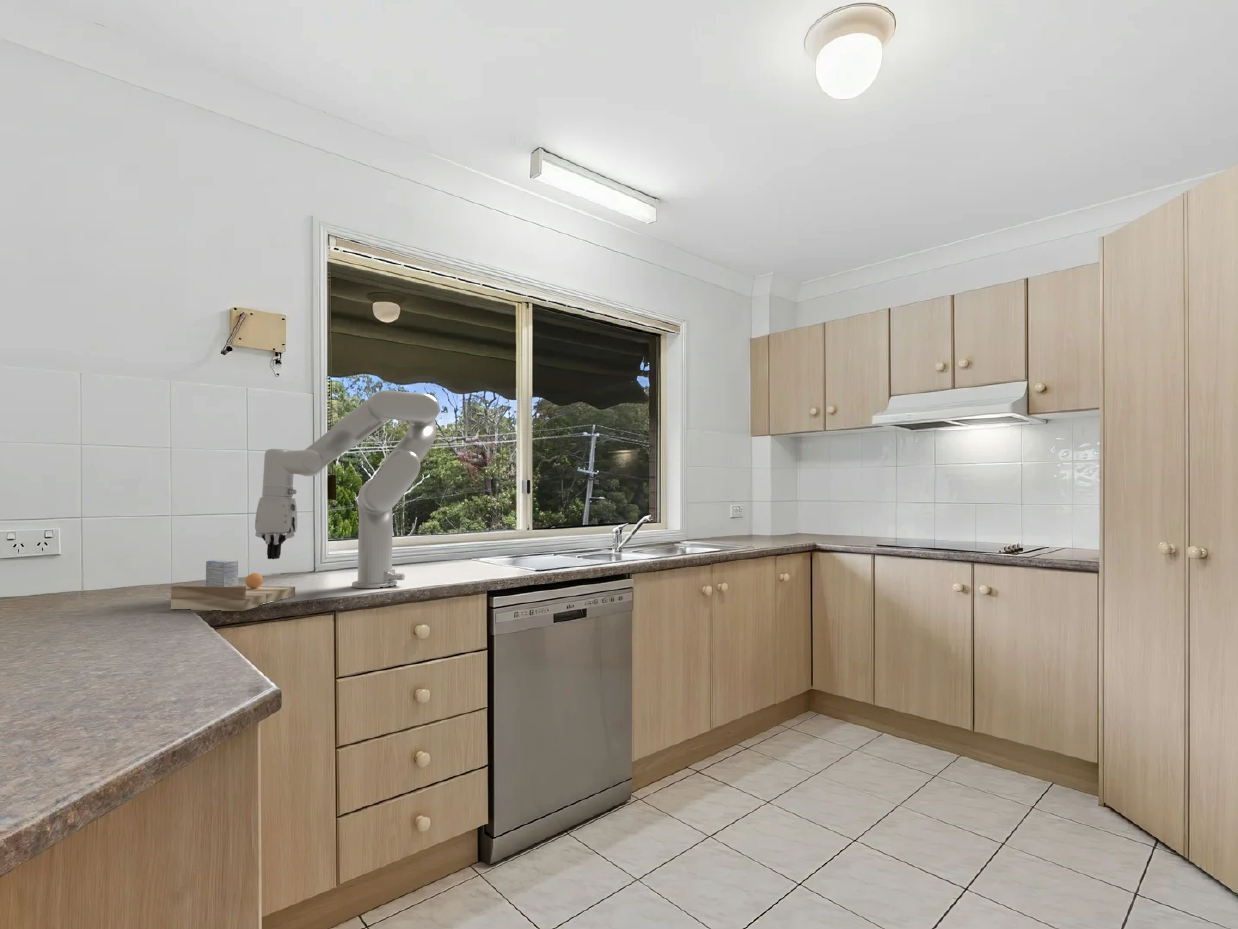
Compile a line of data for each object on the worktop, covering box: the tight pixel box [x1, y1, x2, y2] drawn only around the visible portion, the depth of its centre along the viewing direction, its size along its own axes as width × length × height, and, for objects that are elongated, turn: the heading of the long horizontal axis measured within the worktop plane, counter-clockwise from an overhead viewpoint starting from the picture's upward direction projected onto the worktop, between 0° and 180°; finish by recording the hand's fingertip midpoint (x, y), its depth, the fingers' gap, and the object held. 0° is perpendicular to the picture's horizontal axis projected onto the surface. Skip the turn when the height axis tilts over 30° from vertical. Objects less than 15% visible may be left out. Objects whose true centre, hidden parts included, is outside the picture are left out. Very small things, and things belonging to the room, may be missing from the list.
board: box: [170, 585, 296, 612], centre depth 169 cm, size 22×18×6 cm
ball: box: [245, 572, 264, 588], centre depth 176 cm, size 4×4×4 cm
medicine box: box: [205, 558, 239, 587], centre depth 187 cm, size 8×4×9 cm, turn 65°
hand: (273, 558), depth 185 cm, fingers closed
